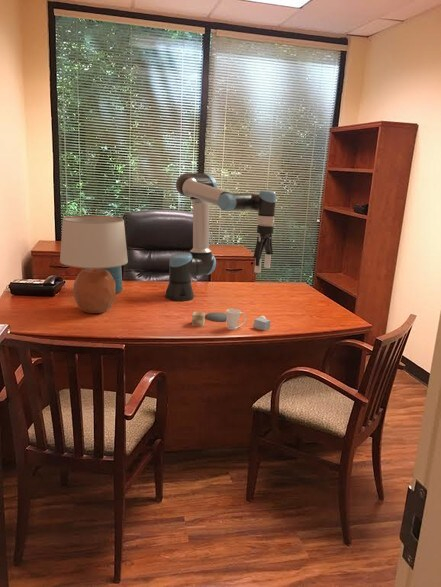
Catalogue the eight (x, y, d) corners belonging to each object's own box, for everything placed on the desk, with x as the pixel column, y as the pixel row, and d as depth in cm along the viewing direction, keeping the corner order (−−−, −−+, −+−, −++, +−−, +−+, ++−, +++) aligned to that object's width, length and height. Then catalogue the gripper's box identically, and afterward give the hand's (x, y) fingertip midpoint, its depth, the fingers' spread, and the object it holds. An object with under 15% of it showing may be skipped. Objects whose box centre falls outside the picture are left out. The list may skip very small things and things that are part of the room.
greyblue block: (253, 327, 217) (254, 319, 216) (259, 325, 220) (259, 317, 219) (264, 331, 213) (265, 322, 212) (269, 329, 216) (270, 320, 215)
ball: (256, 324, 221) (256, 316, 220) (259, 322, 224) (260, 314, 223) (264, 326, 219) (265, 317, 218) (267, 323, 223) (268, 315, 222)
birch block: (191, 325, 215) (192, 314, 214) (193, 322, 220) (194, 311, 218) (202, 326, 214) (203, 315, 213) (204, 323, 219) (205, 312, 218)
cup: (221, 326, 216) (222, 308, 214) (242, 324, 220) (243, 307, 217) (227, 331, 210) (228, 313, 208) (248, 329, 213) (249, 312, 211)
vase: (128, 291, 264) (129, 243, 257) (103, 296, 252) (103, 245, 245) (110, 285, 274) (110, 238, 267) (85, 290, 262) (84, 241, 255)
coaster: (201, 318, 225) (201, 317, 225) (212, 312, 236) (212, 310, 235) (224, 323, 220) (224, 321, 220) (235, 316, 231) (235, 315, 230)
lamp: (86, 299, 246) (85, 213, 235) (138, 307, 236) (139, 219, 225) (47, 314, 218) (43, 218, 207) (105, 325, 209) (104, 225, 198)
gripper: (264, 228, 210) (260, 275, 215) (281, 223, 232) (277, 266, 237) (248, 226, 213) (245, 273, 218) (266, 222, 235) (263, 264, 240)
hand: (262, 270), depth 228 cm, fingers open, 13 cm apart
